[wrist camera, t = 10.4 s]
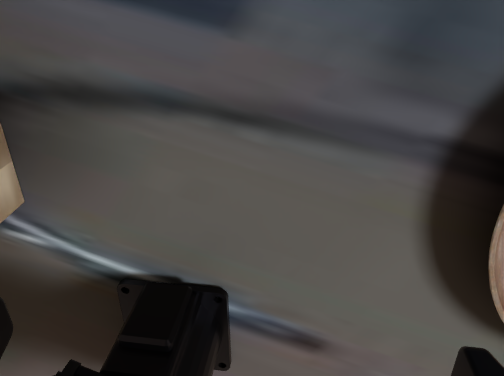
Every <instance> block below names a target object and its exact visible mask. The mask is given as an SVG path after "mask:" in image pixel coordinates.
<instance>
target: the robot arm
mask: <svg viewBox="0 0 504 376" xmlns="http://www.w3.org/2000/svg"><path fill="white" fill-rule="evenodd" d="M125 287H126V288H125ZM127 288H128V289H127ZM117 291H118V296H119V301H120V305H121V310H122V315H123V320H124V325H123V327H122V329H121V331H120V333H119V335H118V338H117V340H116V342H115V344H114V345H113V347H112V349H111V351H110V353H109V355H108V357H107V359H106V361H105V363H104V365H103V367H102V368H101V370H100V372H96V371H94V370H91V369H89V368H86V367H84V366H81V363H79V362H77V361H74V360H72V359H71V360H70V361H69V362H68V364H67V365H66V366H65V368H64V369H63V371H62V372H60V371H58V372H57V374H56V375H54V376H212V374H213V370H221V371H226V370H228V369H229V368H230V364H231V345H230V325H229V304H228V294H227V292H226V291H225V290H223V289H220V288H212V287H201V286H191V285H181V284H170V283H160V282H150V281H139V280H129V279H124V280H122V281H121V282H120V283H119V285H118V287H117ZM216 296H218V297H221V298H217V297H216ZM12 332H13V324H12V321H11V318H10V316H9V313H8V310H7V308H6V305H5V302H4V300H3V299H2V298H1V297H0V358H1V356H2V354H3V352H4V350H5V348H6V346H7V344H8V342H9V340H10V338H11V336H12ZM451 376H504V367H503V366H502V365H501V364H500V363H499V362H498V361H497V360H496V359H495V358H494V357H493V355H492V354H491V353H490V352H489V351H487V350H486V349H483V348H476V347H467V346H464V347H461V348H460V350H459V352H458V355H457V358H456V361H455V364H454V367H453V371H452V374H451Z"/></svg>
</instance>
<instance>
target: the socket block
mask: <svg viewBox="0 0 504 376" xmlns="http://www.w3.org/2000/svg"><path fill="white" fill-rule="evenodd" d="M23 203H24V198H23V195H22V192H21V188H20V185H19V182H18V179H17V175H16V172H15V169H14V166H13V162H12V159H11V156H10V152H9V149H8V146H7V143H6V139H5V136H4V133H3V130H2V126H1V123H0V223H1V222H2V221H3V220H5V219H6V218H7V217H8V216H9V215H10V214H11V213H12V212H14V211H15V210H16V209H17V208H18V207H19V206H20V205H21V204H23Z"/></svg>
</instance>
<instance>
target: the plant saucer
mask: <svg viewBox="0 0 504 376" xmlns="http://www.w3.org/2000/svg"><path fill="white" fill-rule="evenodd" d="M488 272H489V283H490V289H491V294H492V298H493V301H494V304H495V307H496V309H497V312H498V314H499V316H500V318H501V320H502V321H503V323H504V205H503V207H502V209H501V212H500V214H499V217H498V219H497V222H496V225H495V228H494V231H493V235H492V239H491V244H490V250H489V270H488Z"/></svg>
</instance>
